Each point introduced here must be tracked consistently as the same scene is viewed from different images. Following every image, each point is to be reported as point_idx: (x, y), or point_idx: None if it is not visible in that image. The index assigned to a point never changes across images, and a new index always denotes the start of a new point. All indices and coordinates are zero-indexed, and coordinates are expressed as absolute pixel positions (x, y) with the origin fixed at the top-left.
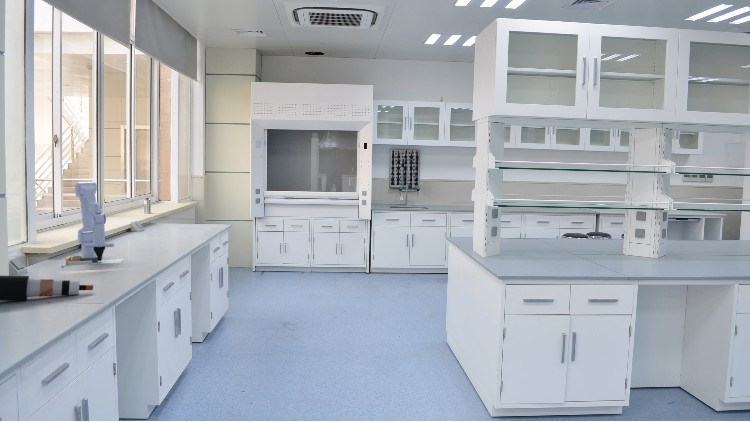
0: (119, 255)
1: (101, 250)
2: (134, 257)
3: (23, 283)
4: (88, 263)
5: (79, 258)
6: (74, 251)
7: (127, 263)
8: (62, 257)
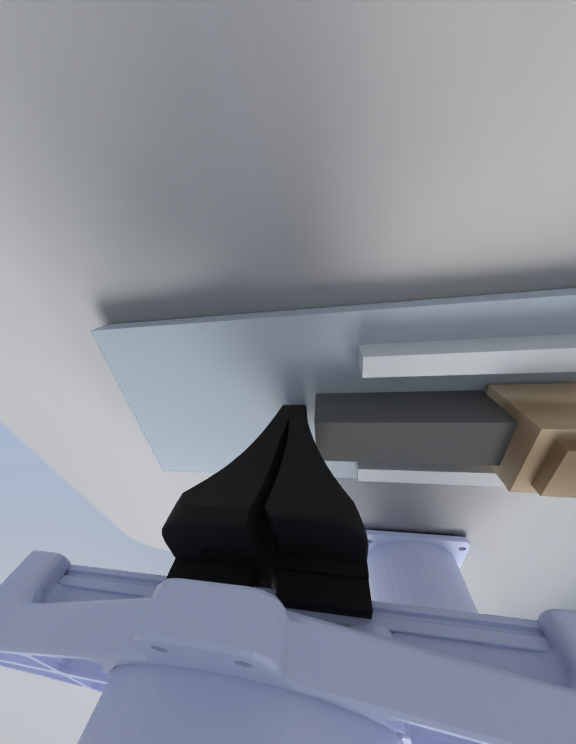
0: None
1: (219, 486)
2: None
3: None
4: (395, 343)
5: (539, 417)
6: None
7: (91, 376)
8: None
